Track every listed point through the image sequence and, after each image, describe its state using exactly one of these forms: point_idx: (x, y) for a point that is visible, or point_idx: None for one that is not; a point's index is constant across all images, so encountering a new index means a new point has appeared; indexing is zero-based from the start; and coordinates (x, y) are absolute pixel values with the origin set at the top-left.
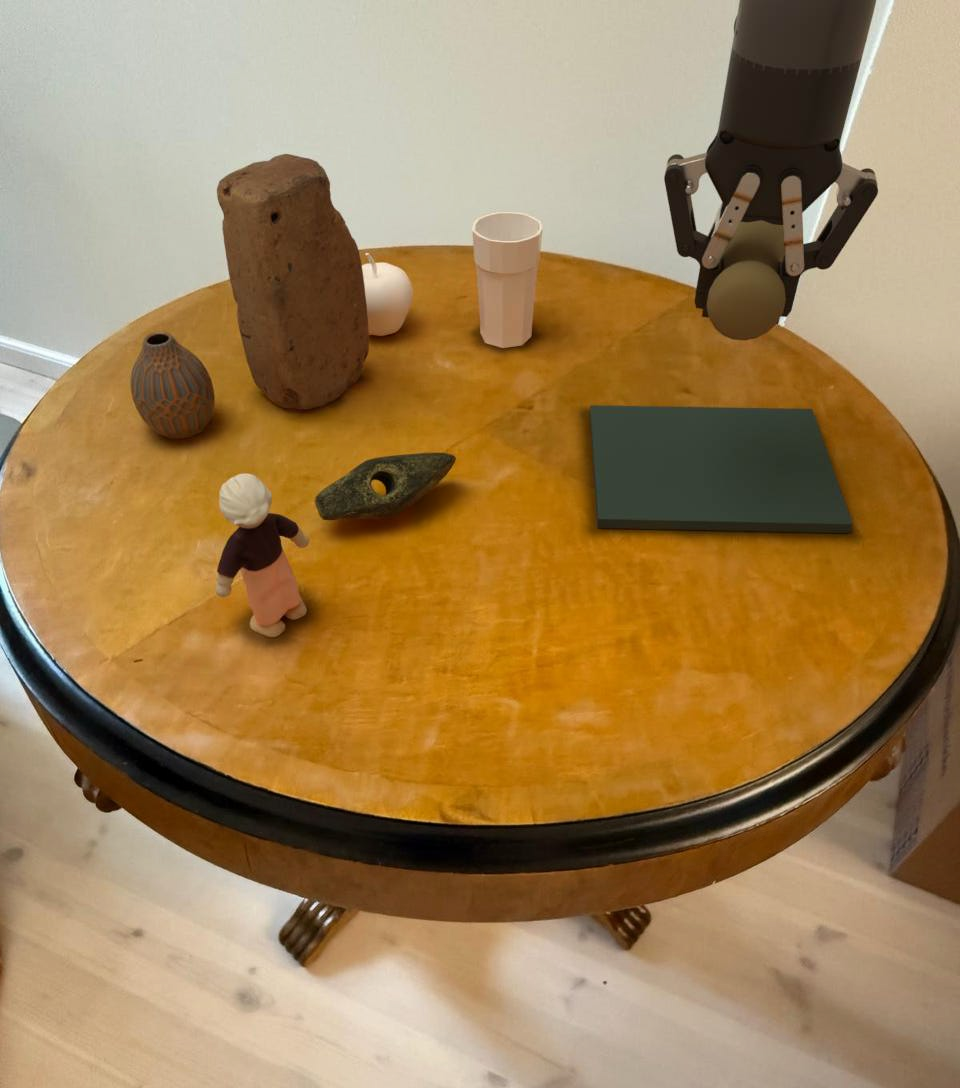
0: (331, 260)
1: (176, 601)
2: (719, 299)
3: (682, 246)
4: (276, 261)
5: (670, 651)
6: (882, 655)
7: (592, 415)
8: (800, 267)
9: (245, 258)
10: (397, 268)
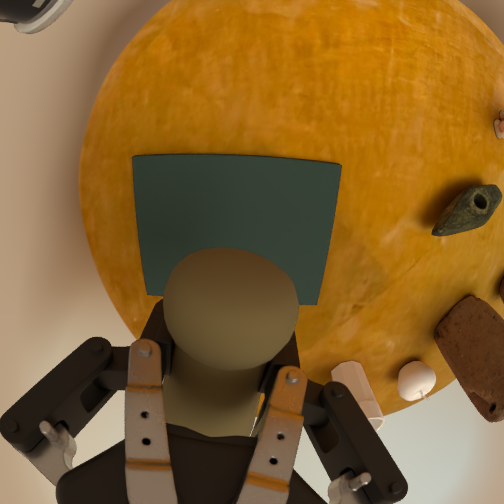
0: (487, 370)
1: None
2: (290, 294)
3: (344, 395)
4: None
5: (300, 32)
6: (147, 35)
7: (318, 293)
8: (135, 348)
9: None
10: (408, 397)
